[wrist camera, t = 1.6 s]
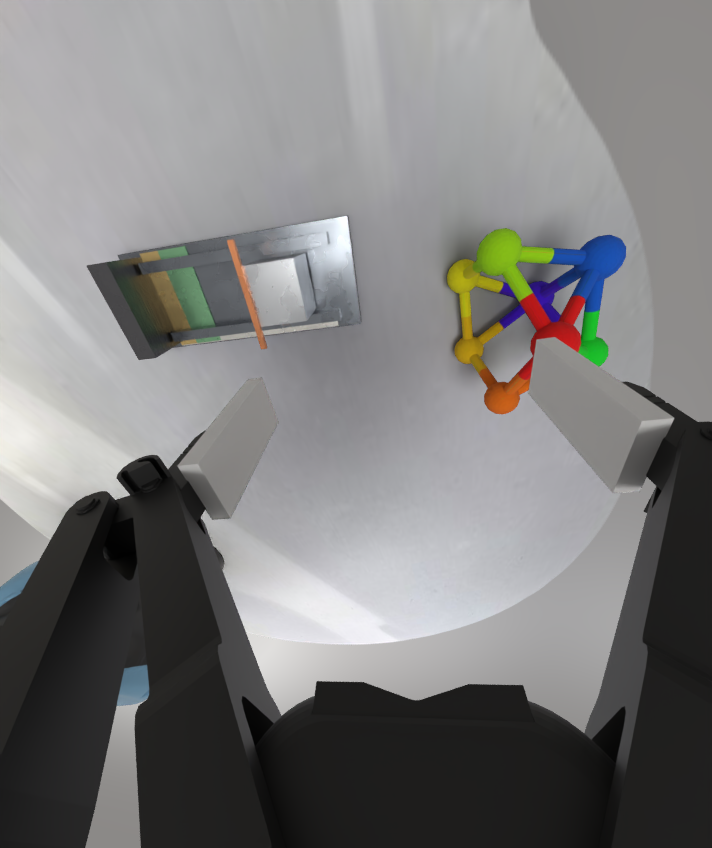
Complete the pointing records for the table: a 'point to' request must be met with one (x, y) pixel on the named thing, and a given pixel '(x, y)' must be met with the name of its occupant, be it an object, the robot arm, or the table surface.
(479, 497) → the table surface
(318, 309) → the base
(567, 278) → the educational toy
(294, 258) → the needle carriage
